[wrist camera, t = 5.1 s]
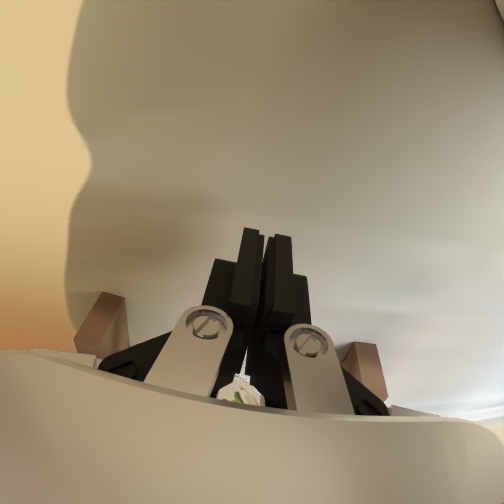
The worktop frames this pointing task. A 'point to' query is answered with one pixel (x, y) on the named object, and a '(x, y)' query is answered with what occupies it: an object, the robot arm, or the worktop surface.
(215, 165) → the worktop surface
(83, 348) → the wooden planks
